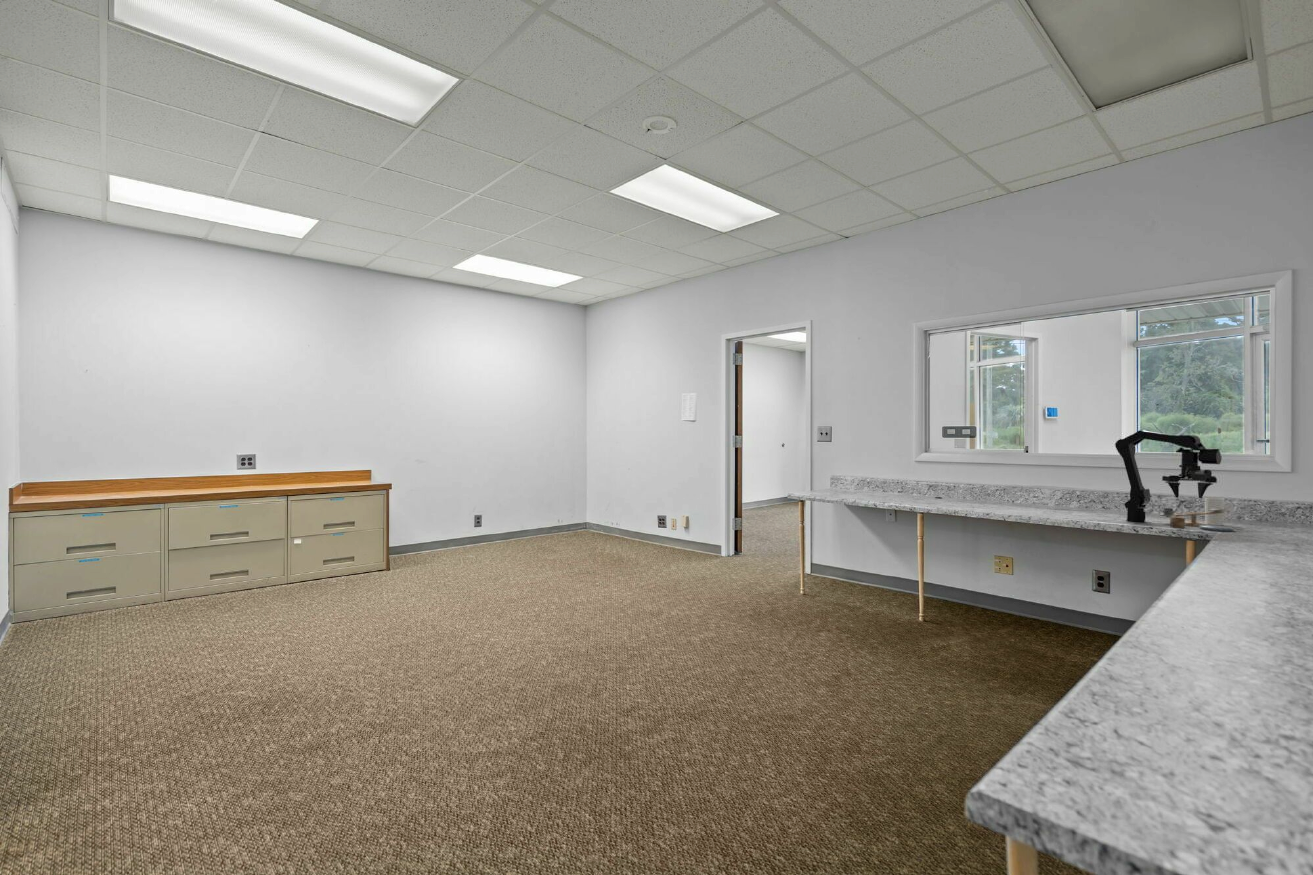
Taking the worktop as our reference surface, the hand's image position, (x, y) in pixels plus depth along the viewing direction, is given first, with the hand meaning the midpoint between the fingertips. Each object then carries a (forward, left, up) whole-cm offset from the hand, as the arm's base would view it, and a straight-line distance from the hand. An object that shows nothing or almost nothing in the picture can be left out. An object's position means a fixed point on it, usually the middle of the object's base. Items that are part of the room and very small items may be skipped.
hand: (1188, 497), depth 282 cm
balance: (+3, +7, -13) cm, 15 cm away
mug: (+13, +15, -13) cm, 23 cm away
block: (-4, -4, -13) cm, 14 cm away
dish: (+9, -5, -13) cm, 16 cm away
